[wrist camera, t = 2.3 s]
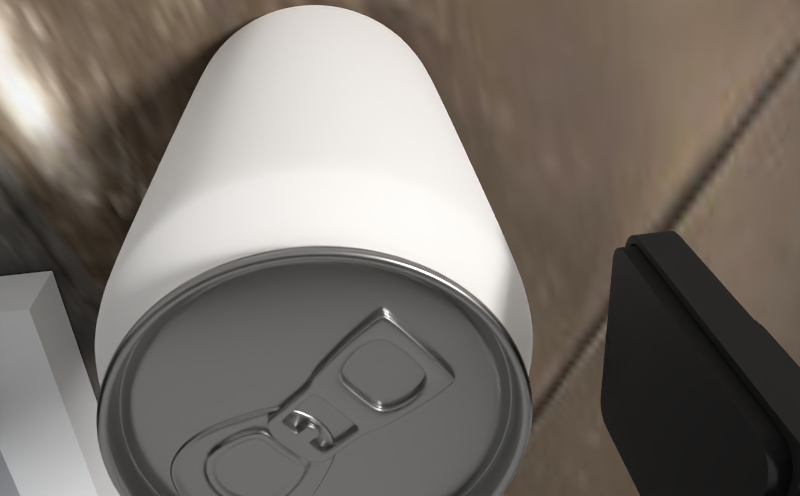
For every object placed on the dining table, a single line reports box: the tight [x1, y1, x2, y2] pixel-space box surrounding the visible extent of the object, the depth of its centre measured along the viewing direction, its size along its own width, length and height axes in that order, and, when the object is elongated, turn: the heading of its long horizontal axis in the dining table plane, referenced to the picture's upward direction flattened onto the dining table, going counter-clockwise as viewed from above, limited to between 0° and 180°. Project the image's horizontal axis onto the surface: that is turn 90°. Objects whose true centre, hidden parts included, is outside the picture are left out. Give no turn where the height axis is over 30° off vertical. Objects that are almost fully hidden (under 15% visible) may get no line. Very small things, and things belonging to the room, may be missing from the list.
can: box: [95, 5, 533, 496], centre depth 15 cm, size 6×6×12 cm
